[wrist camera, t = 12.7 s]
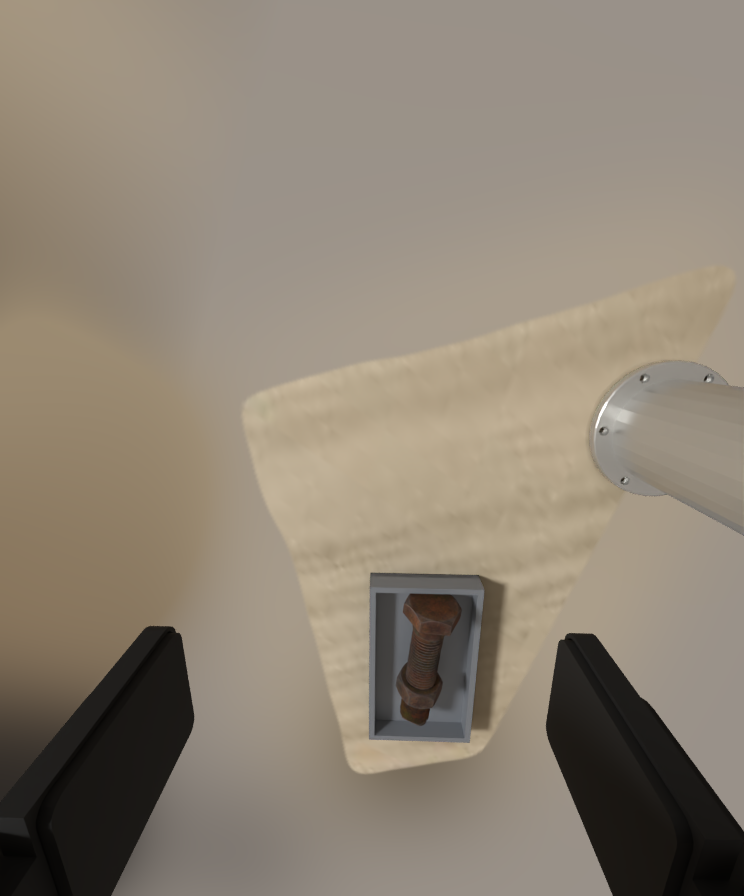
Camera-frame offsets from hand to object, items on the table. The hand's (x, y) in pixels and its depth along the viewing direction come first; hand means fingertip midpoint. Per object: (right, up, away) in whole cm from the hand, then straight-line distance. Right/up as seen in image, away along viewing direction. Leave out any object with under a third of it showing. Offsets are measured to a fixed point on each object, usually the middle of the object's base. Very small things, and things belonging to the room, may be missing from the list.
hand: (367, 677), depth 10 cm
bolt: (+5, -16, +33) cm, 37 cm away
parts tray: (+6, -17, +34) cm, 39 cm away
